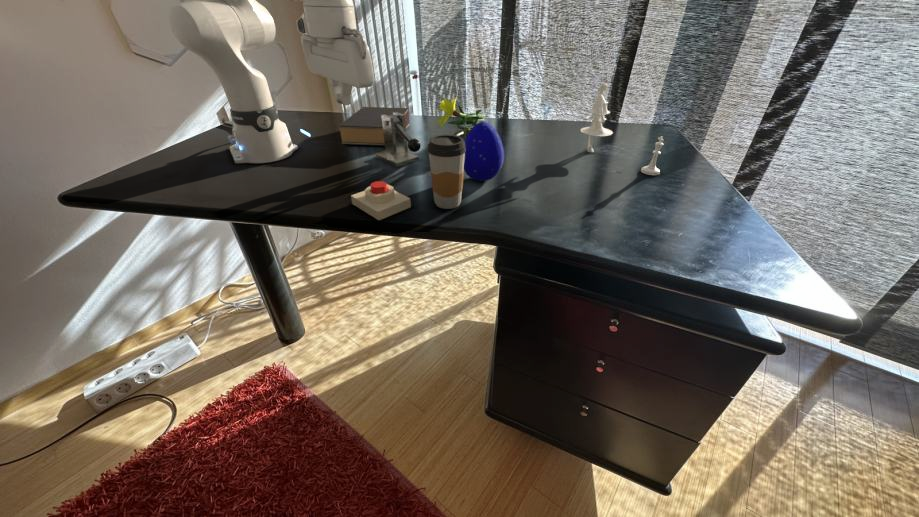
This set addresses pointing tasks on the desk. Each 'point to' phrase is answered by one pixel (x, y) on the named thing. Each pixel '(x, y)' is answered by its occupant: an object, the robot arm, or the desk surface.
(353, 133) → the book
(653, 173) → the chess piece
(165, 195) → the desk surface
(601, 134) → the figurine
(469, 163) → the ornament
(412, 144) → the lever
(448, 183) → the coffee cup
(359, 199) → the block
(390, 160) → the metal bracket
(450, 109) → the daffodil flowers
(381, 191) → the button
